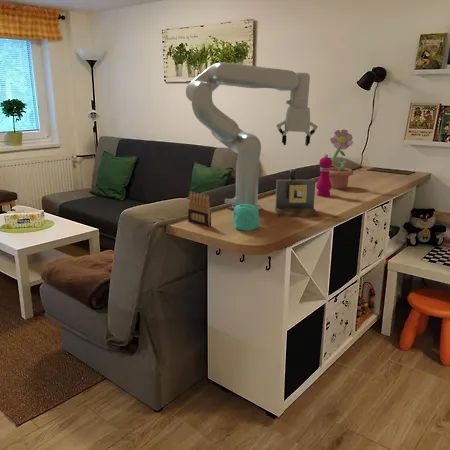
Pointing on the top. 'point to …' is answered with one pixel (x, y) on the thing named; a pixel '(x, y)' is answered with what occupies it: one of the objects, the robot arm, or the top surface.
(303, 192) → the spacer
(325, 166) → the pepper mill
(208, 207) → the ammunition clip
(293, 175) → the shaft
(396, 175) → the top surface
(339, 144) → the decorative flower
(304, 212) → the base board
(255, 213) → the decorative dice
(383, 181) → the top surface
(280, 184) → the grey rectangular panel
